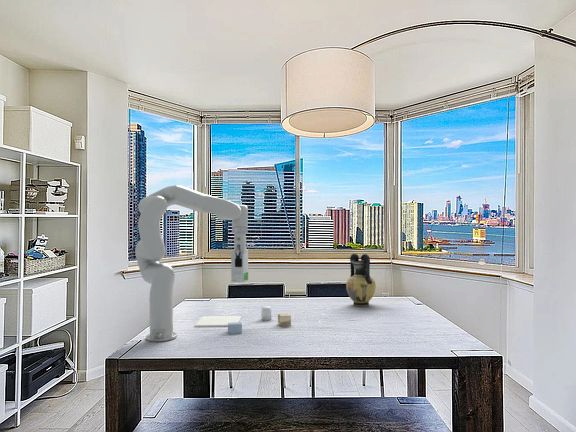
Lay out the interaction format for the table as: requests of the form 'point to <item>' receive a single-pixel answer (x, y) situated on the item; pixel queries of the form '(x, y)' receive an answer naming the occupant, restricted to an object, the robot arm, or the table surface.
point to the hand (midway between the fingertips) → (239, 266)
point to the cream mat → (217, 321)
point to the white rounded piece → (266, 313)
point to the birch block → (284, 319)
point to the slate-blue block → (235, 327)
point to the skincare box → (239, 272)
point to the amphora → (360, 281)
